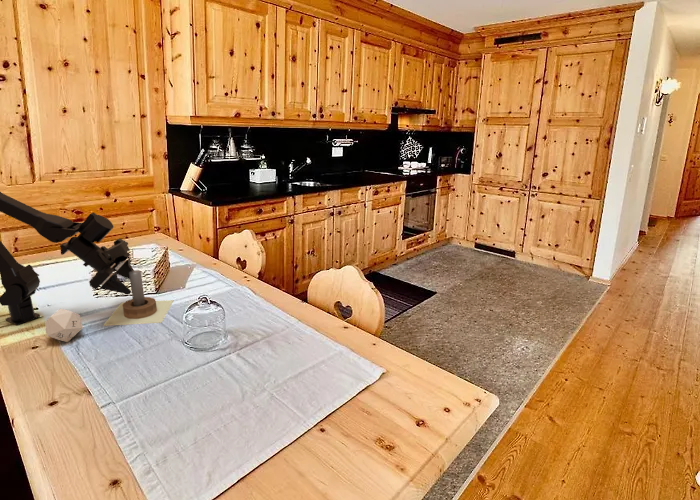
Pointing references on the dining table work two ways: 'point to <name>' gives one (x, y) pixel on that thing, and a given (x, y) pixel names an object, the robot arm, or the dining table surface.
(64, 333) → the die
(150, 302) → the bead
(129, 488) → the dining table surface
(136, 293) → the grey rounded peg
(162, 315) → the mat
